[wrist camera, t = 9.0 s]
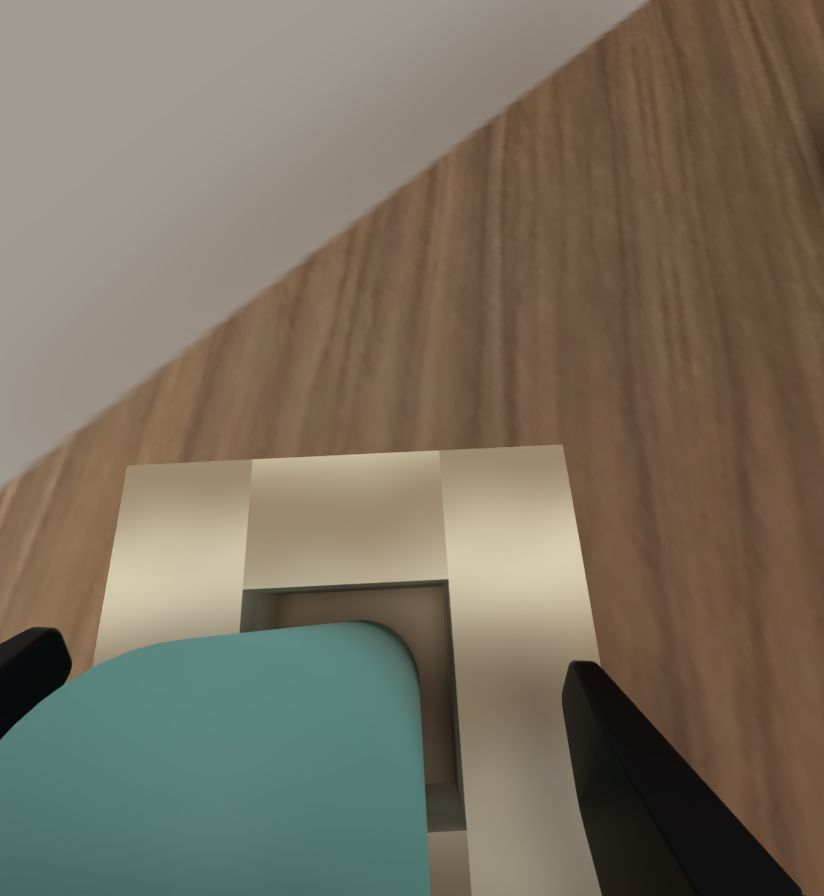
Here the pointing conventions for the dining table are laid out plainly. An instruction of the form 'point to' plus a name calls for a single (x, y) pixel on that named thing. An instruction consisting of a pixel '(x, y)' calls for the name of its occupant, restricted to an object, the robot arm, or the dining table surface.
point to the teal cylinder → (224, 771)
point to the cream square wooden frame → (397, 618)
